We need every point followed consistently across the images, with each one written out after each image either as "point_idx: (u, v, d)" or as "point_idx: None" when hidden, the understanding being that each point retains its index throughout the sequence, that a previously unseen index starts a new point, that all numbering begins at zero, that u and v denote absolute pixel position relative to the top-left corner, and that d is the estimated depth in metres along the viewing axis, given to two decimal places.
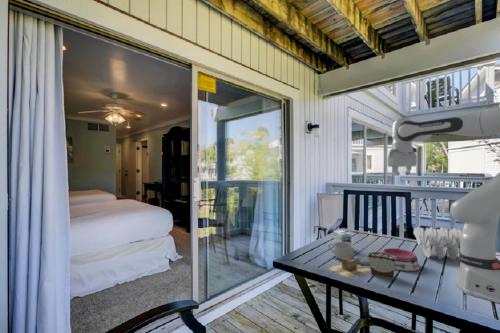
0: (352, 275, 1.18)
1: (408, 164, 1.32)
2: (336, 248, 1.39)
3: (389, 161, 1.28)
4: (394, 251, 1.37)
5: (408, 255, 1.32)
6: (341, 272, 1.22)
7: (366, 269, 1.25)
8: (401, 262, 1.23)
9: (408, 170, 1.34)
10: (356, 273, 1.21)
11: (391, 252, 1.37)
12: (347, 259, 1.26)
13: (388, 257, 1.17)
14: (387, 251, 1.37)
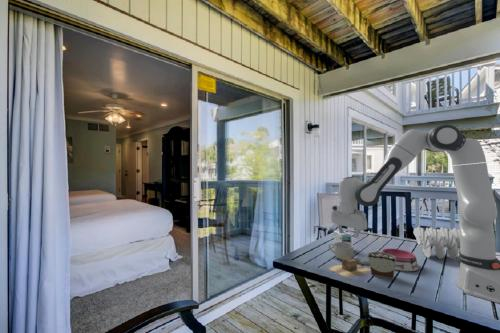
0: (352, 275, 1.18)
1: None
2: (336, 248, 1.39)
3: (364, 224, 1.17)
4: (393, 251, 1.37)
5: (407, 255, 1.32)
6: (341, 272, 1.22)
7: (366, 269, 1.25)
8: (400, 262, 1.23)
9: (340, 228, 1.31)
10: (356, 273, 1.21)
11: (390, 252, 1.37)
12: (347, 259, 1.26)
13: (388, 257, 1.17)
14: (386, 251, 1.36)
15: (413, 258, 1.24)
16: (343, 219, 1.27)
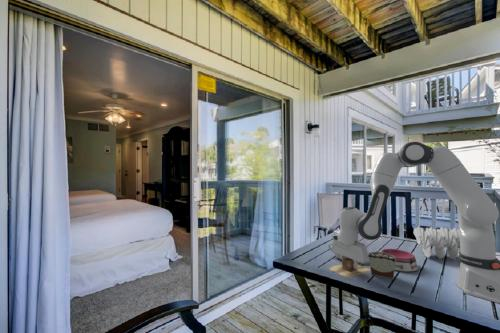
0: (352, 275, 1.18)
1: None
2: None
3: (365, 257, 1.17)
4: (392, 251, 1.36)
5: (406, 255, 1.31)
6: (341, 272, 1.22)
7: (366, 269, 1.25)
8: (399, 263, 1.23)
9: None
10: (356, 273, 1.21)
11: (389, 252, 1.36)
12: (347, 259, 1.26)
13: (388, 257, 1.17)
14: (385, 251, 1.36)
15: (412, 258, 1.24)
16: (343, 249, 1.27)
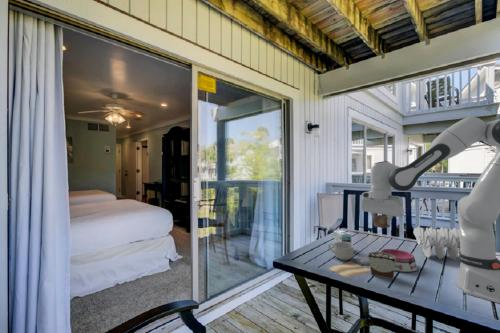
0: (352, 275, 1.18)
1: None
2: (336, 248, 1.39)
3: (400, 210, 1.10)
4: (392, 252, 1.36)
5: (406, 256, 1.31)
6: (341, 272, 1.22)
7: (366, 269, 1.25)
8: (398, 263, 1.23)
9: None
10: (356, 273, 1.21)
11: (389, 253, 1.36)
12: (379, 216, 1.19)
13: (388, 257, 1.17)
14: (385, 252, 1.36)
15: (412, 259, 1.23)
16: (375, 206, 1.20)
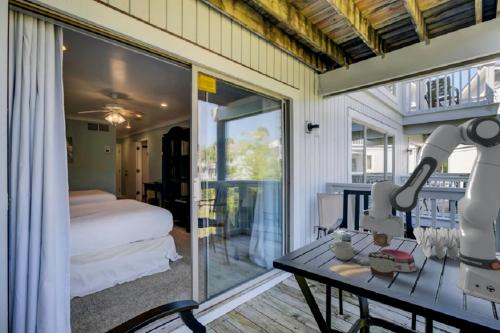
0: (352, 275, 1.18)
1: None
2: (336, 248, 1.39)
3: (401, 231, 1.10)
4: (391, 252, 1.36)
5: (405, 256, 1.31)
6: (341, 272, 1.22)
7: (366, 269, 1.25)
8: (397, 263, 1.22)
9: None
10: (356, 273, 1.21)
11: (388, 253, 1.36)
12: (379, 234, 1.19)
13: (388, 257, 1.17)
14: (384, 252, 1.36)
15: (411, 259, 1.23)
16: (375, 224, 1.20)
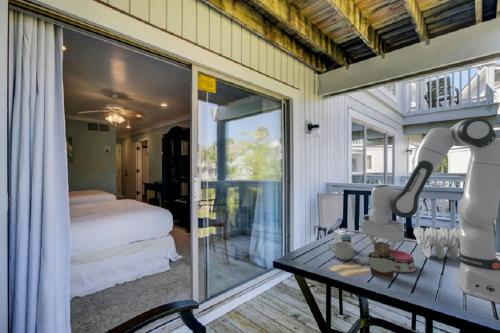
0: (352, 275, 1.18)
1: None
2: (336, 248, 1.39)
3: (401, 236, 1.10)
4: (391, 252, 1.36)
5: (405, 256, 1.31)
6: (341, 272, 1.22)
7: (366, 269, 1.25)
8: (397, 263, 1.22)
9: (372, 239, 1.24)
10: (356, 273, 1.21)
11: None
12: (380, 243, 1.19)
13: (388, 257, 1.17)
14: None
15: (410, 259, 1.23)
16: (375, 229, 1.20)
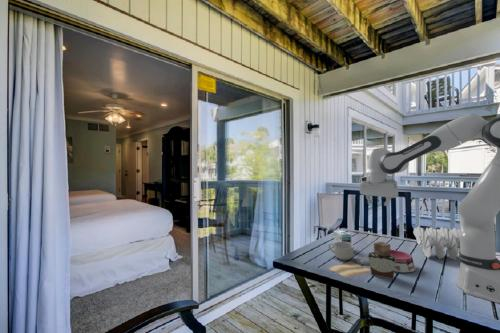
0: (352, 275, 1.18)
1: None
2: (336, 248, 1.39)
3: (395, 192, 1.22)
4: (390, 252, 1.35)
5: (404, 256, 1.30)
6: (341, 272, 1.22)
7: (366, 269, 1.25)
8: (396, 263, 1.22)
9: (369, 198, 1.36)
10: (356, 273, 1.21)
11: None
12: (380, 243, 1.19)
13: (388, 257, 1.17)
14: None
15: (409, 259, 1.23)
16: (372, 189, 1.32)
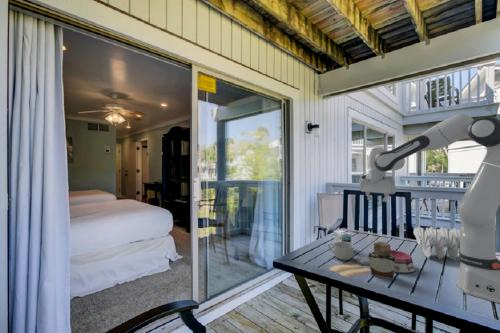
0: (352, 275, 1.18)
1: None
2: (336, 248, 1.39)
3: (393, 188, 1.30)
4: None
5: (403, 256, 1.30)
6: (341, 272, 1.22)
7: (366, 269, 1.25)
8: (395, 264, 1.22)
9: (369, 195, 1.44)
10: (356, 273, 1.21)
11: None
12: (380, 243, 1.19)
13: (388, 257, 1.17)
14: None
15: (409, 259, 1.22)
16: (371, 186, 1.40)
